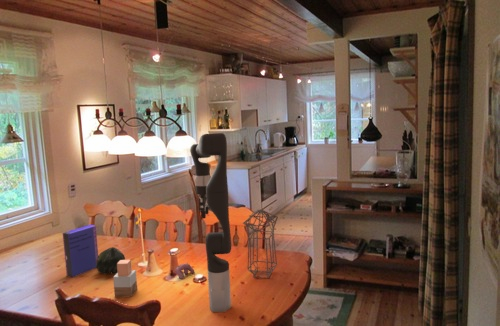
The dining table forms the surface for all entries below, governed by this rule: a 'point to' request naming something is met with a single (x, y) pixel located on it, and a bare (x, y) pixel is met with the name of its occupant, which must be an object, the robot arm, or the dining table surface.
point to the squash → (109, 260)
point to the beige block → (124, 267)
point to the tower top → (125, 280)
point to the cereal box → (80, 250)
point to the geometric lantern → (261, 238)
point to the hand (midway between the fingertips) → (204, 216)
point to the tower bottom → (125, 291)
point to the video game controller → (185, 267)
